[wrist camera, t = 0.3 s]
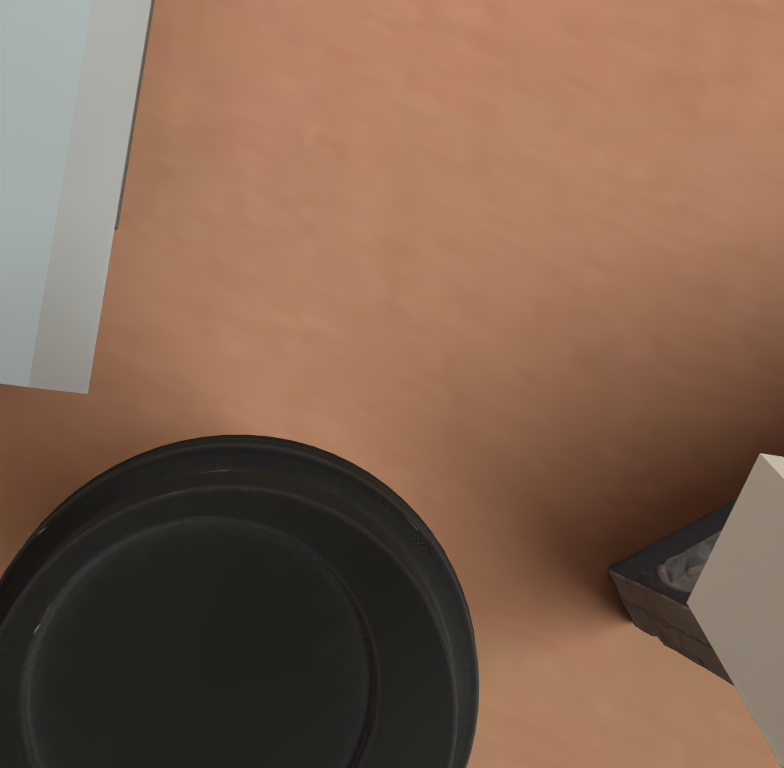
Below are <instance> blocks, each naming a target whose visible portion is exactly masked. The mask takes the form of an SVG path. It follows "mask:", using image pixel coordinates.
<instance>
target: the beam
mask: <svg viewBox="0 0 784 768" xmlns="http://www.w3.org/2000/svg"><path fill="white" fill-rule="evenodd" d="M150 7H151V0H0V384H7V385H15V386H22V387H30V388H39V389H48V390H57V391H66V392H75V393H84V394H88V390H89V383H90V377H91V371H92V365H93V359H94V353H95V346H96V340H97V334H98V328H99V322H100V315H101V309H102V303H103V297H104V291H105V285H106V278H107V272H108V266H109V260H110V254H111V248H112V241H113V235H114V229H115V223H116V217H117V210H118V204H119V198H120V192H121V186H122V180H123V173H124V167H125V161H126V155H127V149H128V142H129V136H130V130H131V124H132V118H133V112H134V105H135V99H136V93H137V87H138V81H139V74H140V68H141V62H142V56H143V50H144V44H145V37H146V31H147V25H148V19H149V13H150Z"/></svg>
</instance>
